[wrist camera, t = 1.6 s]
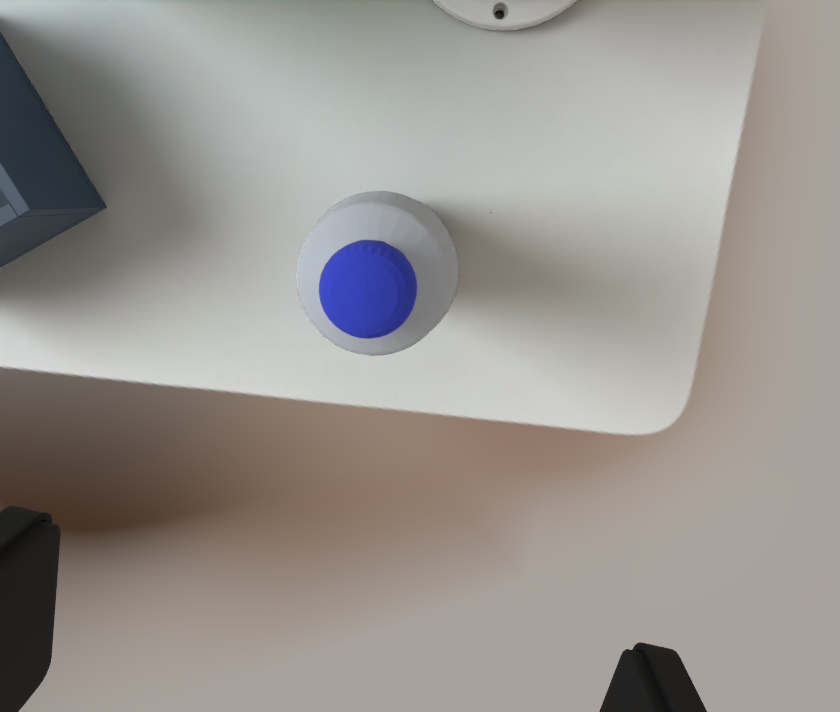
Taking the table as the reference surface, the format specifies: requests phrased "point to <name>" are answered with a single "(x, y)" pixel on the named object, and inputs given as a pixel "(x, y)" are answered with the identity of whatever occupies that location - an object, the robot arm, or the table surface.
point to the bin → (35, 168)
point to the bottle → (377, 273)
